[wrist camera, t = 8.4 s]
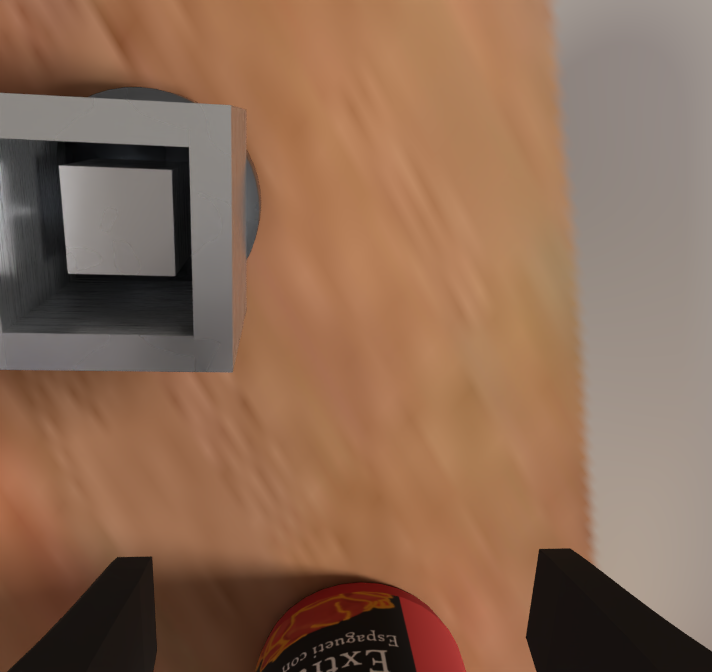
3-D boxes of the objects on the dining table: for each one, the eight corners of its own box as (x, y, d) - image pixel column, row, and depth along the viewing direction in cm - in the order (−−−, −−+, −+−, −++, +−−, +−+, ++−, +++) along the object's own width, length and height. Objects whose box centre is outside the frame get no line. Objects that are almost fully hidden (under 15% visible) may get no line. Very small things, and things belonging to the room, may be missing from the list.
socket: (48, 305, 18) (-35, 369, 14) (28, 98, 17) (-73, 89, 12) (246, 309, 19) (232, 372, 14) (246, 109, 17) (231, 105, 13)
